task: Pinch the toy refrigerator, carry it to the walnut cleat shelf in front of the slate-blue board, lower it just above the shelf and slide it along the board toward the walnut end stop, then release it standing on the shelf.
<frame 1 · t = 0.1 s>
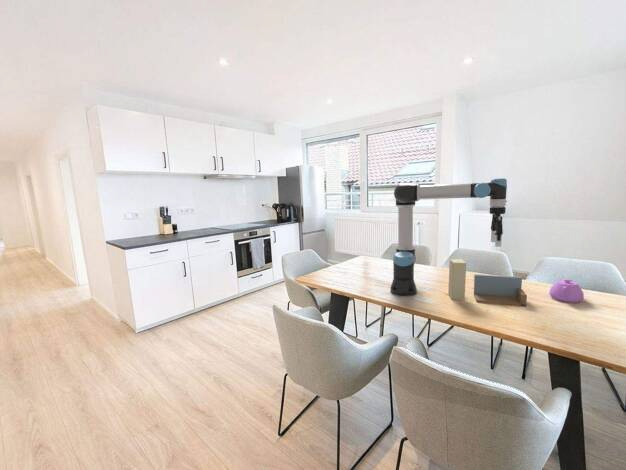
hand: (495, 244, 165), 28 cm above the table, fingers open, 13 cm apart
purple dimpled dome: (565, 298, 155), on the table
cleat board: (498, 300, 157), on the table
toy refrigerator: (457, 297, 163), on the table
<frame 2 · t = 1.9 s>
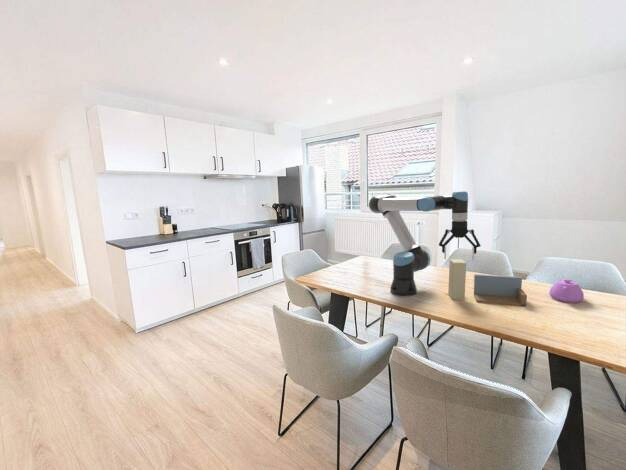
hand: (458, 259, 160), 22 cm above the table, fingers open, 13 cm apart
nothing on the table moved.
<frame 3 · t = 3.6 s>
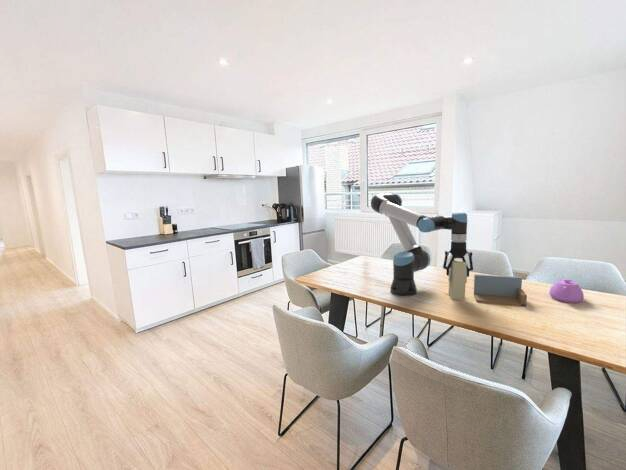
hand: (457, 281, 162), 9 cm above the table, fingers closed on toy refrigerator, 7 cm apart
toy refrigerator: (457, 297, 163), on the table, touching gripper
everything else where it was.
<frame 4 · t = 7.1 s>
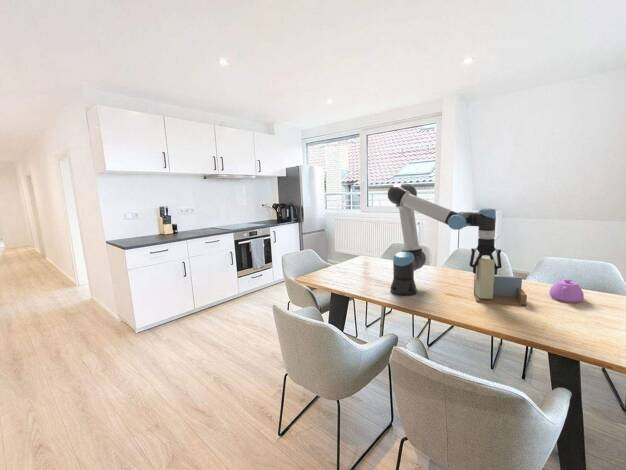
hand: (484, 279, 157), 11 cm above the table, fingers closed on toy refrigerator, 7 cm apart
toy refrigerator: (484, 296, 158), point 2 cm above the table, touching gripper
everything else where it was.
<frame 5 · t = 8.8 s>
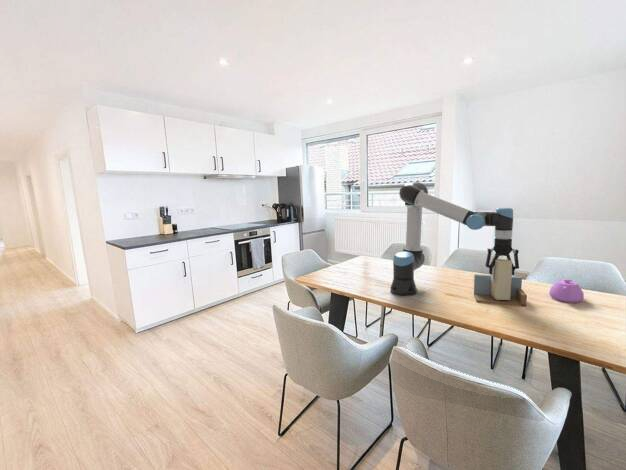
hand: (501, 280, 154), 11 cm above the table, fingers closed on toy refrigerator, 7 cm apart
toy refrigerator: (501, 297, 155), point 2 cm above the table, touching gripper
everything else where it was.
when the fingers open (11 cm above the table, at t = 10.5 s): toy refrigerator stays where it is, resting on cleat board.
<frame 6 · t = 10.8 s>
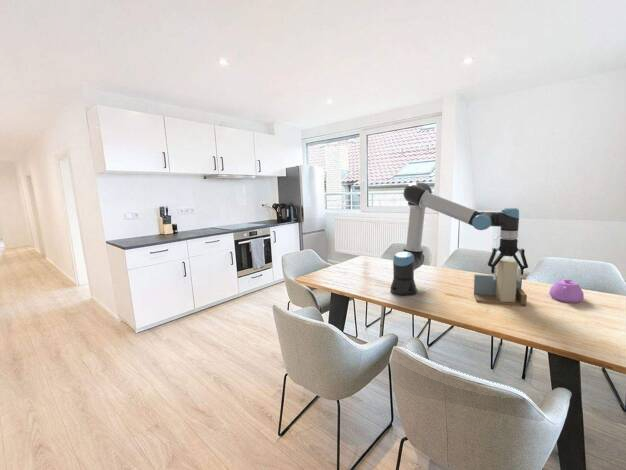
hand: (506, 280, 153), 12 cm above the table, fingers open, 10 cm apart
toy refrigerator: (506, 299, 154), point 1 cm above the table, touching cleat board
everything else where it was.
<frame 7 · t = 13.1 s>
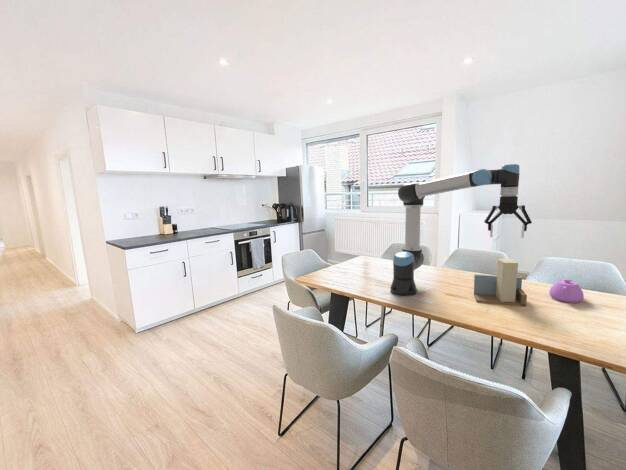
hand: (506, 237, 151), 34 cm above the table, fingers open, 13 cm apart
nothing on the table moved.
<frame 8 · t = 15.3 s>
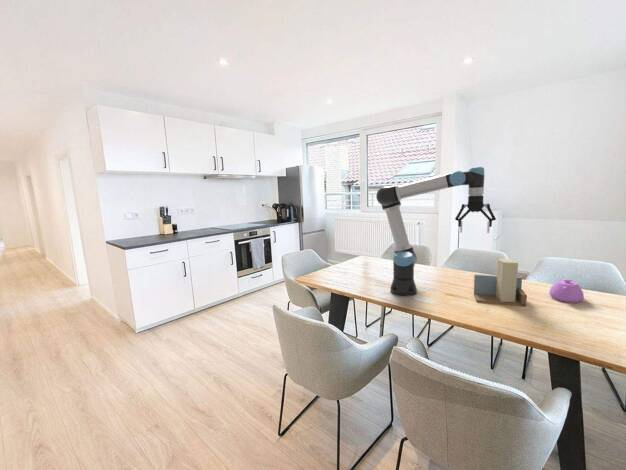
hand: (474, 232, 167), 35 cm above the table, fingers open, 13 cm apart
nothing on the table moved.
at the end: toy refrigerator inside the target area (0.3 cm from its centre), point 1.0 cm above the table; toy refrigerator tilted 0°; the gripper is holding nothing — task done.
